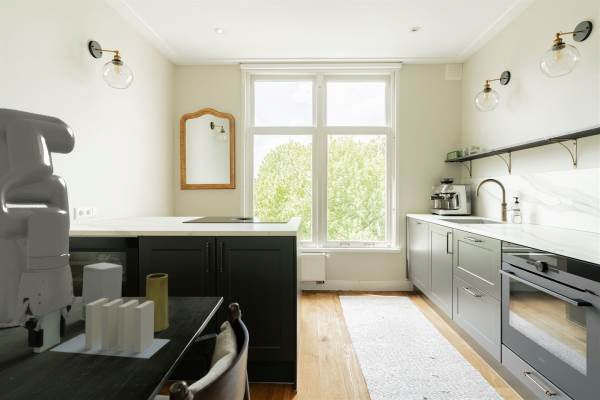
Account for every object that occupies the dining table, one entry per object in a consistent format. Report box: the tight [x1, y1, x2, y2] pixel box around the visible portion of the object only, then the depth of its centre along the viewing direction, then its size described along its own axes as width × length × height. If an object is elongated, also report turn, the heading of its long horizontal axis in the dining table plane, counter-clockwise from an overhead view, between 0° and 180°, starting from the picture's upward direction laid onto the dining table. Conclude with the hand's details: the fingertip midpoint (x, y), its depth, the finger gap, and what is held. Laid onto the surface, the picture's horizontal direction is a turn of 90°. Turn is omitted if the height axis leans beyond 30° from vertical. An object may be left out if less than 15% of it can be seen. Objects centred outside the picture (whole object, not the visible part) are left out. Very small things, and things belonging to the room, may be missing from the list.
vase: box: [145, 272, 170, 333], centre depth 83 cm, size 6×6×14 cm
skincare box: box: [80, 262, 123, 322], centre depth 90 cm, size 8×7×16 cm
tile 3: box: [101, 298, 124, 350], centre depth 73 cm, size 2×5×10 cm, turn 173°
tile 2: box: [84, 298, 108, 349], centre depth 73 cm, size 2×5×10 cm, turn 173°
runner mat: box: [49, 333, 171, 359], centre depth 73 cm, size 24×9×1 cm, turn 83°
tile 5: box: [134, 300, 155, 353], centre depth 72 cm, size 2×5×10 cm, turn 173°
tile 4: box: [117, 299, 140, 351], centre depth 72 cm, size 2×5×10 cm, turn 173°
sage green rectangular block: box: [33, 309, 61, 354], centre depth 72 cm, size 2×5×10 cm, turn 173°
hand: (47, 340), depth 71 cm, fingers closed on sage green rectangular block, 4 cm apart
